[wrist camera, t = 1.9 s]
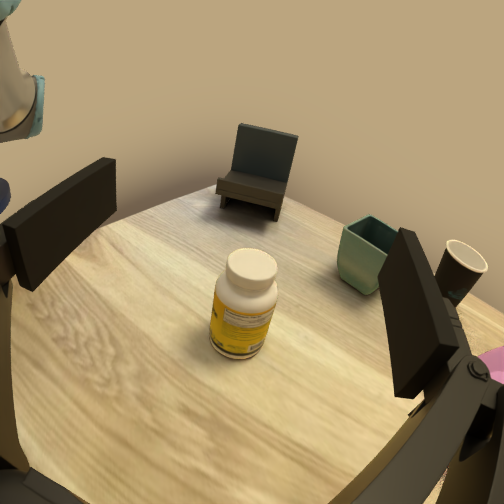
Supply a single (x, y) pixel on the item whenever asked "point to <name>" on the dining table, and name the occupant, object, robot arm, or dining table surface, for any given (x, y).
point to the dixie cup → (459, 271)
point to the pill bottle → (243, 303)
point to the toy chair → (259, 167)
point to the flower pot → (364, 252)
